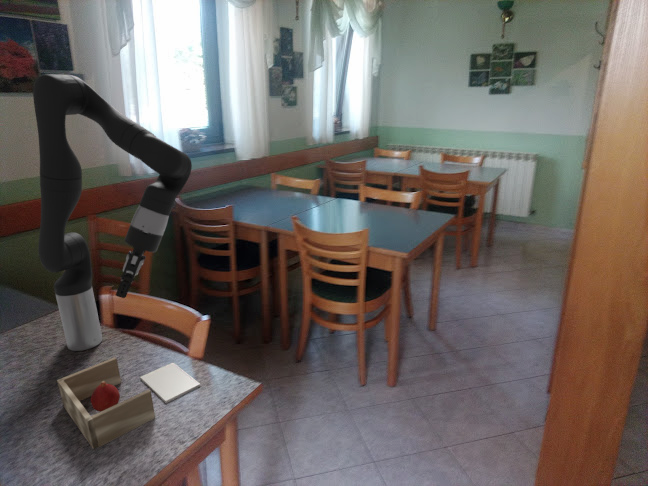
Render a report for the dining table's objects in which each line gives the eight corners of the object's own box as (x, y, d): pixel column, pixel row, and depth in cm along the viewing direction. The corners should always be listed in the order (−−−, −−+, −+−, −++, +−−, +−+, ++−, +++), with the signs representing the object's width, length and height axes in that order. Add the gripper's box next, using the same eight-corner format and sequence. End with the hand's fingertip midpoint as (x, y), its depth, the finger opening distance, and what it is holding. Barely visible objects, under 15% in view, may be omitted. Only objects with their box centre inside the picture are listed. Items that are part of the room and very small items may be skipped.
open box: (63, 405, 102) (57, 380, 100) (119, 381, 111) (115, 357, 109) (93, 449, 89) (87, 421, 87) (155, 417, 98) (150, 391, 96)
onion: (91, 422, 97) (84, 392, 94) (97, 406, 102) (90, 376, 100) (120, 417, 98) (113, 387, 96) (123, 401, 103) (118, 372, 101)
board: (140, 379, 112) (140, 377, 112) (173, 364, 118) (173, 362, 118) (166, 403, 102) (165, 401, 102) (200, 385, 108) (200, 383, 108)
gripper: (133, 220, 109) (110, 280, 109) (127, 225, 95) (101, 294, 96) (164, 230, 111) (141, 289, 112) (162, 237, 98) (136, 305, 98)
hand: (122, 292), depth 104 cm, fingers open, 8 cm apart
